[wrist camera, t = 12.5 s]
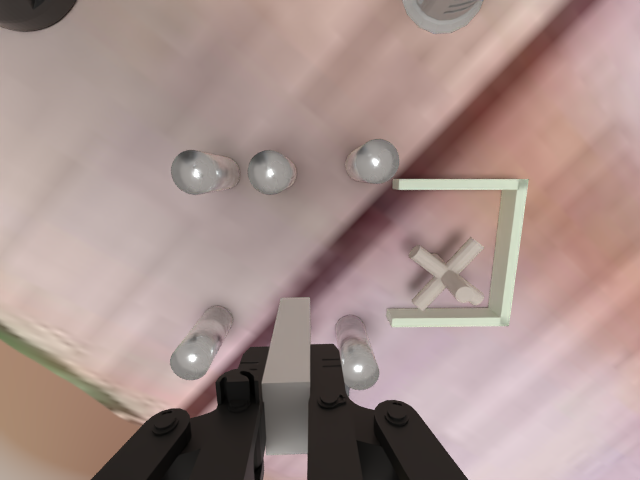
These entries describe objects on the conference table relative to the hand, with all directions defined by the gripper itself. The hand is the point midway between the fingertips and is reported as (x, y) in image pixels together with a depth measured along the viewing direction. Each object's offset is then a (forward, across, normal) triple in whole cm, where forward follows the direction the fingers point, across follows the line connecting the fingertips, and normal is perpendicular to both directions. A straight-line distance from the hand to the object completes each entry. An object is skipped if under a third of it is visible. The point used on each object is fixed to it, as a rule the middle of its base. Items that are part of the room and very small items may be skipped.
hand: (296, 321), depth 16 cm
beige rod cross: (+24, +17, -4) cm, 30 cm away
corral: (+24, +18, -3) cm, 30 cm away
